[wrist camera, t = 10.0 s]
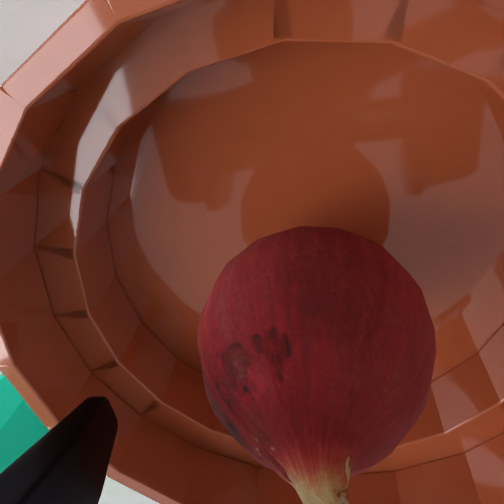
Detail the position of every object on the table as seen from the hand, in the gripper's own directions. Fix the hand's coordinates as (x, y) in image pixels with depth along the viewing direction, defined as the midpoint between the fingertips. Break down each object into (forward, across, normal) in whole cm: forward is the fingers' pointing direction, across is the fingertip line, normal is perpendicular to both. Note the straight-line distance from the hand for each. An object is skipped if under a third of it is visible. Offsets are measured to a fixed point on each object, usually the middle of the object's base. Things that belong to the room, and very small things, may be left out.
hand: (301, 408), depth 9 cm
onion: (+6, 0, 0) cm, 6 cm away
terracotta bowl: (+6, 0, 0) cm, 6 cm away
